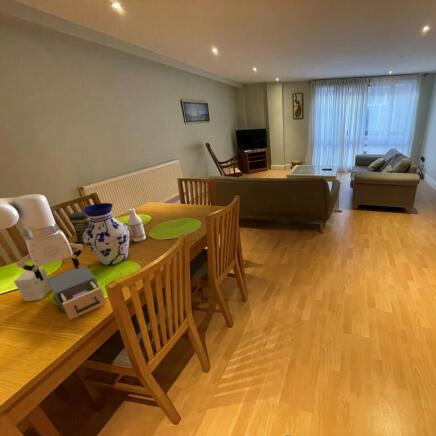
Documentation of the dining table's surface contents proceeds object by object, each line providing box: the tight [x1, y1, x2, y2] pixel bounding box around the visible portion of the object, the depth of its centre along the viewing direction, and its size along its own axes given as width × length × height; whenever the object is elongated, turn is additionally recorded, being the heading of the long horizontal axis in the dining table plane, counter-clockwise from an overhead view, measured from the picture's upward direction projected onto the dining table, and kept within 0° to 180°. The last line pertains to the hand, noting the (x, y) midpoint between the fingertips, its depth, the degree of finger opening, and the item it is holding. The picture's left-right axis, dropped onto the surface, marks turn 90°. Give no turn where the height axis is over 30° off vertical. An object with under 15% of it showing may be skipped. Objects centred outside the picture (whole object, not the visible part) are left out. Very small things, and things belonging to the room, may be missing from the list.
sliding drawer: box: [59, 281, 107, 321], centre depth 93 cm, size 18×11×7 cm, turn 52°
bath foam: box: [127, 208, 147, 243], centre depth 145 cm, size 7×7×20 cm
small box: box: [13, 268, 52, 302], centre depth 100 cm, size 8×6×10 cm
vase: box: [81, 202, 131, 266], centre depth 122 cm, size 19×19×30 cm
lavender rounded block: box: [72, 290, 87, 298], centre depth 93 cm, size 4×4×4 cm
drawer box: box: [47, 265, 100, 313], centre depth 100 cm, size 15×13×9 cm
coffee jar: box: [68, 211, 90, 244], centre depth 145 cm, size 10×8×19 cm
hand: (59, 273), depth 88 cm, fingers open, 9 cm apart
